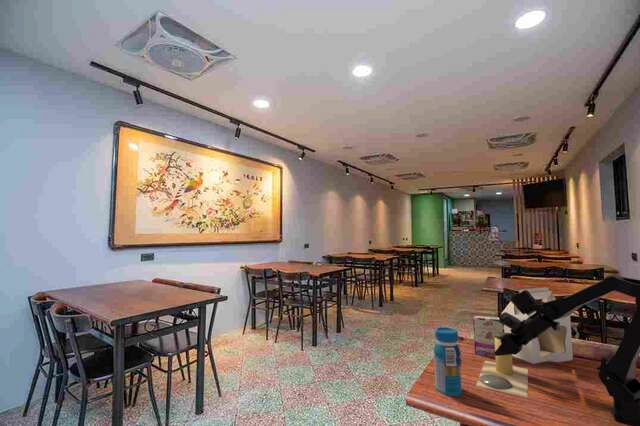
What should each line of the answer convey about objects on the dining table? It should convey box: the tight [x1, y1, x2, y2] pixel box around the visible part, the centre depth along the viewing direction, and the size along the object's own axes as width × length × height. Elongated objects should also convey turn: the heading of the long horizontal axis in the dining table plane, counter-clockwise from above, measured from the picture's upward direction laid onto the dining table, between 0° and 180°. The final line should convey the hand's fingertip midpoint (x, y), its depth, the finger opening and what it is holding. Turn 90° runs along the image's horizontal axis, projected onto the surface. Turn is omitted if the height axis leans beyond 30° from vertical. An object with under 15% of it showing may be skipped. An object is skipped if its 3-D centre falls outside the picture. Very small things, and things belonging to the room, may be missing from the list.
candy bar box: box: [472, 314, 504, 359], centre depth 129 cm, size 11×5×16 cm, turn 62°
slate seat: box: [479, 374, 511, 389], centre depth 105 cm, size 9×9×1 cm
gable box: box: [501, 286, 574, 365], centre depth 130 cm, size 22×13×28 cm, turn 108°
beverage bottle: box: [432, 326, 463, 397], centre depth 101 cm, size 8×8×20 cm
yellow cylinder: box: [494, 332, 514, 375], centre depth 113 cm, size 5×5×13 cm
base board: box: [475, 360, 529, 399], centre depth 109 cm, size 24×14×2 cm, turn 146°
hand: (499, 351), depth 114 cm, fingers open, 9 cm apart
